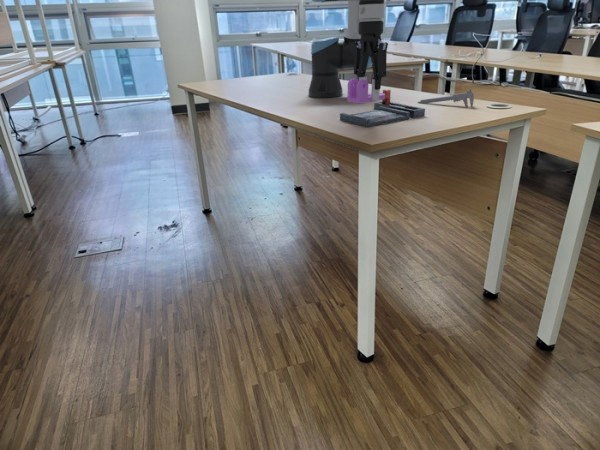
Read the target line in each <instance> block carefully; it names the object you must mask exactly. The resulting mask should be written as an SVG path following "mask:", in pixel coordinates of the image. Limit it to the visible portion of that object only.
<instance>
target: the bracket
mask: <svg viewBox="0 0 600 450" xmlns="http://www.w3.org/2000/svg"><path fill="white" fill-rule="evenodd" d="M362 85H363V86H362ZM371 93H372V92H370V93H369V82H368V79H367V80H362V79H361V80H359V81H358V78H355V77H354V78H350V79H349V80H348V83H347V102H348V103H353V104H364V103H371V102H376V101H377V102H378V101H382V100H383V99H385V94H383V92H380V93H379V100H371Z"/></svg>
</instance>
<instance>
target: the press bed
mask: <svg viewBox="0 0 600 450" xmlns="http://www.w3.org/2000/svg"><path fill="white" fill-rule="evenodd" d="M409 116H410V112H406V111H402V110H397V109H392V108H387V107H382V106H380V107H379V109H378V110H375V109H373V110H369V111H363V112H358V113H357V112H356V113H352V114H348V113H345V112H340V113H339V120H340V121H341V122H345V123H350V124H353V125H355V126H360V127H364V128H372V127H375V126H381V125H386V124H390V123H395V122H401V121H406V120H410V117H409Z"/></svg>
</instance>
